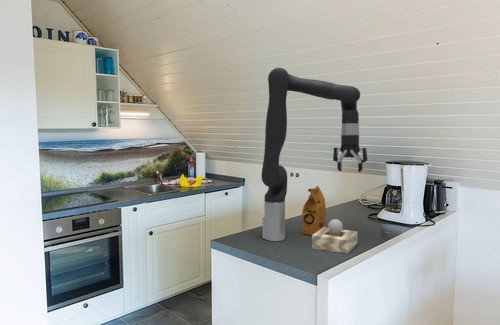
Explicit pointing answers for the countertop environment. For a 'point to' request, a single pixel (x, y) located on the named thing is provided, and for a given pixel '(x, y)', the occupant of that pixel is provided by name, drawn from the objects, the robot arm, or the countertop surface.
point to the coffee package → (313, 212)
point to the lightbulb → (335, 227)
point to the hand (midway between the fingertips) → (349, 171)
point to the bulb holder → (334, 241)
